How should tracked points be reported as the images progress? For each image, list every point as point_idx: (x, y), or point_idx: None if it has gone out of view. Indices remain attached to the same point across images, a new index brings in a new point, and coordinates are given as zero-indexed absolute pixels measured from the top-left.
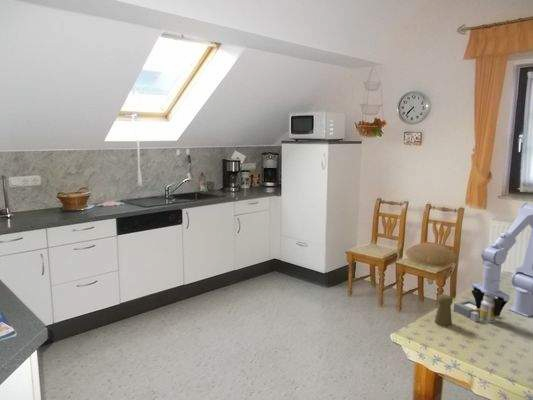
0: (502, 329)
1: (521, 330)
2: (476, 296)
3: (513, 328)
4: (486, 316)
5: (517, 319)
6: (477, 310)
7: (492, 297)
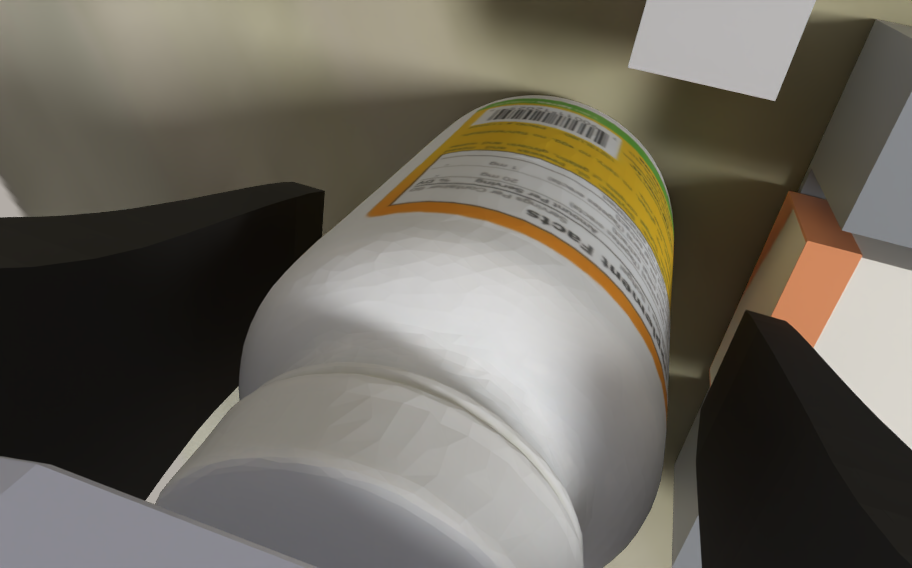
0: (208, 30)
1: None
2: (895, 521)
3: None
4: (478, 125)
5: None
6: None
7: None
